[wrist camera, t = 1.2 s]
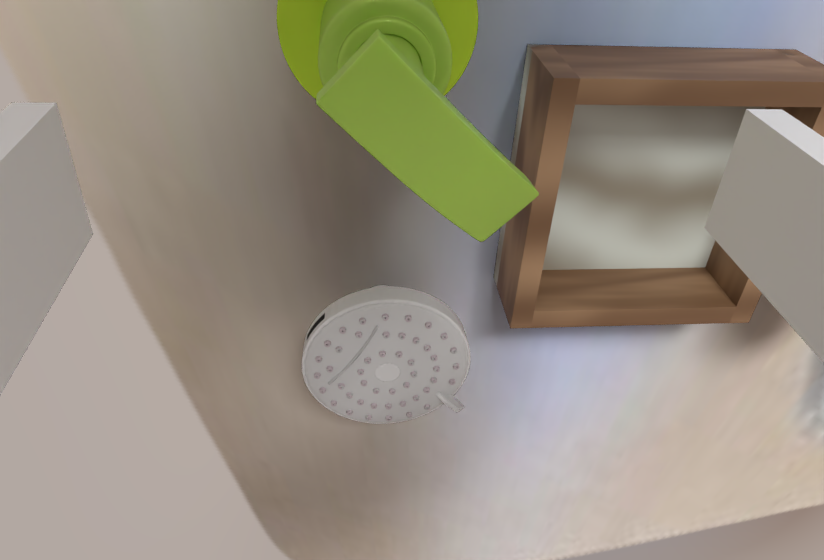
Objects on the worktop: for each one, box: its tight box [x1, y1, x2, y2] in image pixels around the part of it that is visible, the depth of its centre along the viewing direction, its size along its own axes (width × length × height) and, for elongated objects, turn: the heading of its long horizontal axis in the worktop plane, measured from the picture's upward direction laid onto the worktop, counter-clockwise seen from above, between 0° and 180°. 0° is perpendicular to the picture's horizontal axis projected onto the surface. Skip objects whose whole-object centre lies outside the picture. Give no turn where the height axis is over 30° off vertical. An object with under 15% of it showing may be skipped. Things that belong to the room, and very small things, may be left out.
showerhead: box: [302, 285, 471, 424], centre depth 39 cm, size 9×7×10 cm
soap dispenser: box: [277, 0, 539, 242], centre depth 22 cm, size 6×7×20 cm
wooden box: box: [494, 44, 824, 328], centre depth 36 cm, size 14×14×5 cm
